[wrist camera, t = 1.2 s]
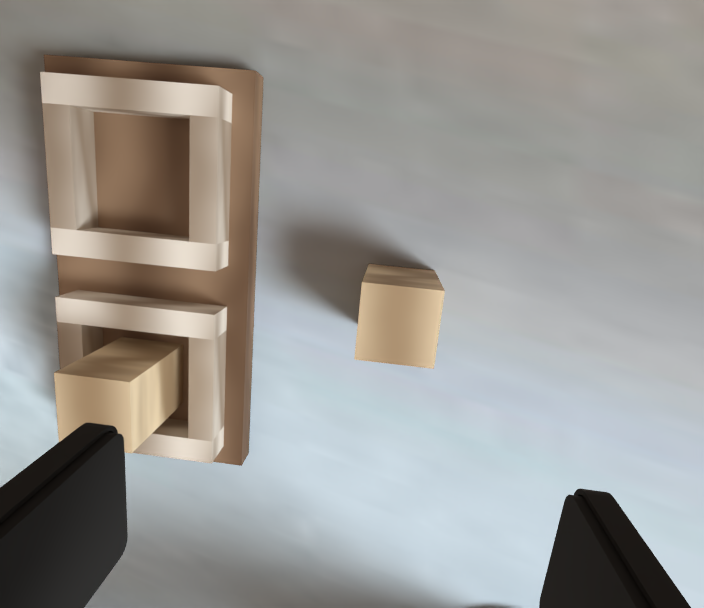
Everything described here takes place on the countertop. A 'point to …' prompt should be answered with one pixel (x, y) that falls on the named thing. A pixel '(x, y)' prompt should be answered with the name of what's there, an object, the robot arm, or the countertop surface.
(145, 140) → the board
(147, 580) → the countertop surface
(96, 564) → the robot arm
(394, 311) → the tan wooden block
